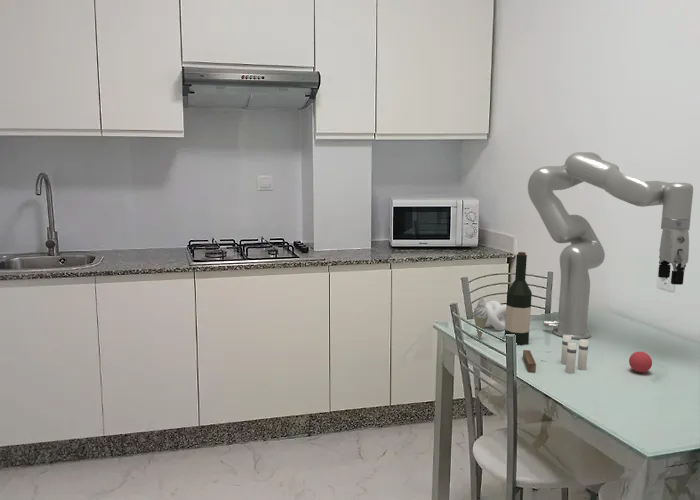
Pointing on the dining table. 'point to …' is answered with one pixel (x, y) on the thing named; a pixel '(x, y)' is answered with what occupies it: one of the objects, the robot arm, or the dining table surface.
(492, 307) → the white knot
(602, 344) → the dining table surface
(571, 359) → the back pin near
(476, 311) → the ice cream cone
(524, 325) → the wine bottle
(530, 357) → the back wall
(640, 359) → the ball
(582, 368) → the front pin
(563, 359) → the back pin far
